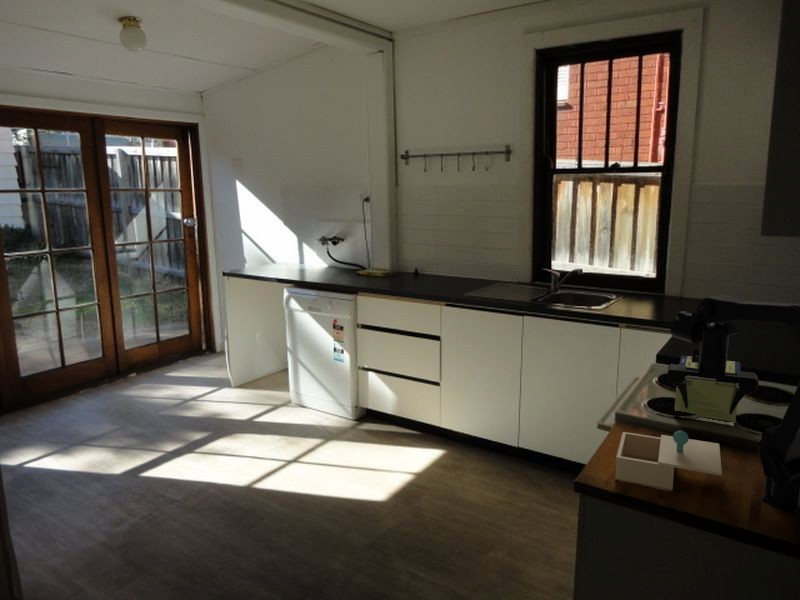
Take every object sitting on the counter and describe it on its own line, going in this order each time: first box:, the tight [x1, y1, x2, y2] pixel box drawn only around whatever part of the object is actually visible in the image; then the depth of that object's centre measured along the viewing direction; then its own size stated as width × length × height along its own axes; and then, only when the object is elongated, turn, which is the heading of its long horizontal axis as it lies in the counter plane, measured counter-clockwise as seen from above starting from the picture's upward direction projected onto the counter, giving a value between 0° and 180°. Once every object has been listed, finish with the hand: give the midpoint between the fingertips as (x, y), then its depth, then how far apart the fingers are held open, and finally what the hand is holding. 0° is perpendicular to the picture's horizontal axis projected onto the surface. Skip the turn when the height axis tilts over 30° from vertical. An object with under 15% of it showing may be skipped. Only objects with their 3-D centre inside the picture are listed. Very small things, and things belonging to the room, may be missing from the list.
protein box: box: [674, 355, 742, 422], centre depth 165 cm, size 10×16×16 cm
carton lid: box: [658, 430, 723, 476], centre depth 132 cm, size 12×14×6 cm
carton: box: [614, 431, 675, 492], centre depth 138 cm, size 12×14×6 cm
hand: (708, 410), depth 139 cm, fingers open, 9 cm apart
